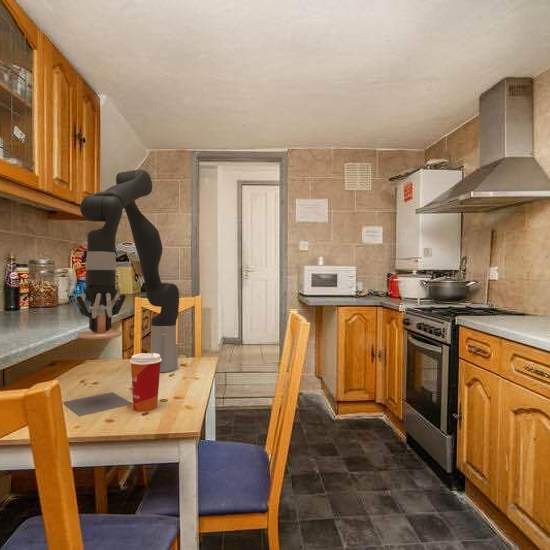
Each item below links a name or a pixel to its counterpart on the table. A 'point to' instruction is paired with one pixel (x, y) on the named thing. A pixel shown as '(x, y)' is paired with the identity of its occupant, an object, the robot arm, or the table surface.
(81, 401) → the mat
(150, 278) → the robot arm
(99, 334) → the lid
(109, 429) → the table surface
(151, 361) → the coffee cup
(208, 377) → the table surface
